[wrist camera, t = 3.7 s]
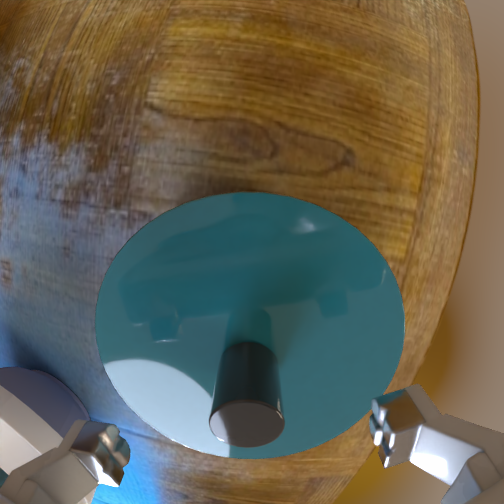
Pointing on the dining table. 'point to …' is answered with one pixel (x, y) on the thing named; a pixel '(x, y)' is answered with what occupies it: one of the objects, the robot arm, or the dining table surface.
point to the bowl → (34, 416)
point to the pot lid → (249, 324)
